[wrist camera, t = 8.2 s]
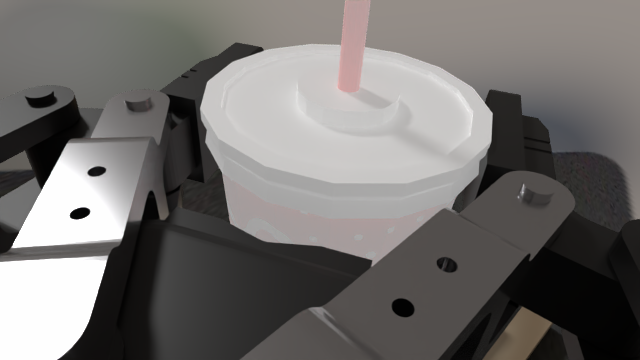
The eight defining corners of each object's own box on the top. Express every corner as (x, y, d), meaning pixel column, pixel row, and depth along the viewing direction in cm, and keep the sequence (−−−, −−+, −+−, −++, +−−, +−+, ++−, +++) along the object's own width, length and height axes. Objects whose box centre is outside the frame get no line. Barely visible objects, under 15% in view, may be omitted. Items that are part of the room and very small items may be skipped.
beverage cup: (217, 286, 17) (161, -220, 8) (373, 259, 18) (460, -191, 10) (240, 465, 12) (167, -269, 4) (447, 409, 14) (729, -199, 5)
